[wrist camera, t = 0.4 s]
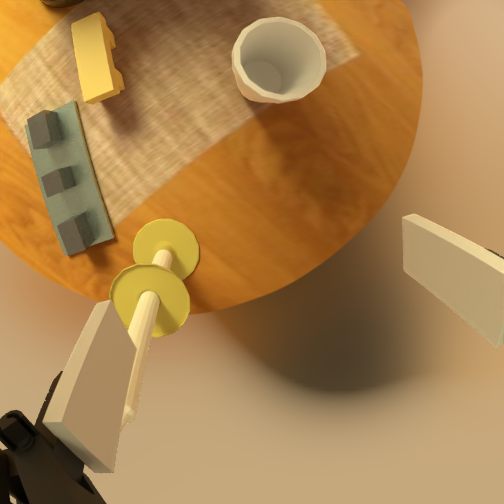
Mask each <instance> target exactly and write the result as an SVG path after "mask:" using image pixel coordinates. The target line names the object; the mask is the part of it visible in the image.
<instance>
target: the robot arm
mask: <svg viewBox="0 0 504 504" xmlns="http://www.w3.org/2000/svg"><path fill="white" fill-rule="evenodd" d="M41 1H42V2H43V3H44V4H46V5H48V6H51V7H66V6H70V5H74V4H77V3H79V2H81V1H83V0H41ZM402 231H403V271H405V272H406V273H407V274H408V275H410V276H411V277H412V278H414V279H415V280H416V281H417V282H419V283H420V284H421V285H423V286H424V287H425V288H426V289H427V290H429V291H430V292H431V293H432V294H434V295H435V296H436V297H438V298H439V299H440V300H441V301H442V302H443V303H444V304H446V305H447V306H448V307H449V308H450V309H452V310H453V311H454V312H455V313H456V314H458V315H459V316H460V317H461V318H462V319H463V320H465V321H466V322H467V323H468V324H469V325H470V326H471V327H473V328H474V329H475V330H476V331H477V332H478V333H479V334H480V335H482V336H483V337H484V338H485V339H486V340H487V341H488V342H489V343H491V344H492V345H493V346H494V347H495V348H497V347H498V346H500V345H501V344H502V343H504V257H502V256H499V254H497V253H495V252H493V251H491V250H489V249H486V248H483V247H481V246H479V245H477V244H475V243H473V242H471V241H470V240H468V239H466V238H464V237H462V236H460V235H458V234H456V233H454V232H452V231H450V230H448V229H446V228H444V227H442V226H440V225H438V224H436V223H434V222H432V221H429V220H428V219H425V218H423V217H421V216H419V215H417V214H411V215H407V216H404V217H402ZM136 351H137V348H136V347H135V345H134V343H133V341H132V339H131V337H130V336H129V334H128V332H127V330H126V328H125V326H124V324H123V322H122V320H121V318H120V316H119V314H118V312H117V310H116V308H115V306H114V304H113V302H112V300H108V301H104V302H100V303H97V304H96V306H95V307H94V309H93V311H92V313H91V315H90V317H89V319H88V321H87V323H86V325H85V327H84V329H83V331H82V333H81V335H80V337H79V339H78V341H77V343H76V345H75V347H74V349H73V351H72V353H71V355H70V357H69V360H68V362H67V364H66V366H65V368H64V371H61V372H60V373H59V374H58V376H57V377H56V378H55V379H54V380H53V382H52V385H51V387H50V389H49V393H48V394H47V396H46V398H45V400H46V401H44V403H43V406H42V408H41V410H40V413H39V415H38V418H37V420H36V423H35V425H33V424H32V423H31V422H30V421H29V420H28V419H27V418H26V417H25V416H24V414H23V413H22V412H21V411H18V410H13V411H10V412H8V413H6V414H5V415H4V416H3V417H2V418H1V419H0V441H1V442H2V443H3V444H4V445H5V446H6V447H7V448H8V449H5V450H1V449H0V504H13V503H11V502H10V496H9V495H11V496H12V497H14V498H15V499H16V502H17V504H106V502H105V501H104V500H103V498H102V497H101V495H100V494H99V492H98V491H97V489H96V488H95V486H94V485H93V484H92V482H91V480H90V479H89V477H88V476H87V475H86V474H84V473H83V469H84V464H85V465H86V466H88V467H89V468H90V469H91V470H92V471H93V472H95V473H114V467H115V460H116V453H117V447H118V441H119V435H120V429H121V423H122V418H123V412H124V407H125V402H126V397H127V392H128V387H129V382H130V377H131V373H132V368H133V364H134V359H135V355H136Z"/></svg>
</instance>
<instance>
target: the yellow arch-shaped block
mask: <svg viewBox="0 0 504 504" xmlns="http://www.w3.org/2000/svg"><path fill="white" fill-rule="evenodd" d="M71 30H72V37H73V44H74V51H75V57H76V63H77V69H78V74H79V79H80V85H81V89H82V94H83V99H84V102H86V103H89V104H95V103H97V102H99V101H102V100H104V99H107V98H109V97H112V96H114V95H117V94H119V93H120V91H121V90H124V89H125V87H124V83H123V78H122V74H121V73H120V72H119V71H118V70H116V69H115V67H114V63H113V58H112V53H111V49H113V48H116V45H115V40H114V35H113V33H112V32H111V31H110V29H109V28H108V27H107V26H106V20H105V18H104V17H103V16H102V15H101V13H100V12H99V11H98V12H96V13H94V14H91V15H89V16H87V17H85V18H83V19H80V20H78V21H76V22H74V23H72V24H71Z"/></svg>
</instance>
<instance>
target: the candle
mask: <svg viewBox="0 0 504 504" xmlns="http://www.w3.org/2000/svg"><path fill="white" fill-rule="evenodd" d="M133 258H134V260H135V262H136V264H135V265H133V266H130V267H128V268H125V269H123V270H122V271H121V272H120V274H119V275H118V276H117V277H116V278H115V279H114V280H113V283H112V286H111V290H110V293H109V297H110V300H112V302H113V304H114V306H115V308H116V310H117V312H118V314H119V316H120V318H121V320H122V322H123V324H124V326H125V327H126V328H127V329H128V334H129V336H130V337H131V339H132V341H133V343H134V345H135V347H136V348H137V351H136V355H135V359H134V364H133V368H132V373H131V377H130V382H129V387H128V392H127V397H126V402H125V407H124V412H123V418H122V423H121V429H120V432H121V430H122V429H123V427H124V426H125V425H126V424H127V423H130V422H132V421H133V420H134V419H135V417H136V413H137V407H138V402H139V396H140V391H141V385H142V380H143V375H144V370H145V365H146V361H147V356H148V351H149V346H150V342H151V337H162V336H166V335H169V334H172V333H174V332H175V331H177V330H178V329H179V328H180V327H181V326H182V325H184V323H185V321H186V319H187V317H188V315H189V312H190V295H189V293H188V291H187V289H186V287H185V285H184V282H183V281H182V280H183V279H185V278H186V277H187V276H189V275H190V274H191V273H192V272H193V271H194V269H195V267H196V265H197V263H198V260H199V244H198V242H197V239H196V237H195V235H194V233H193V232H192V231H191V230H190V229H189V228H188V227H187V226H186V225H185V224H183V223H181V222H178V221H176V220H174V219H156V220H154V221H152V222H149V223H147V224H145V226H144V227H143V228H142V229H141V230H140V231H139V232H138V233H137V235H136V238H135V240H134V243H133Z"/></svg>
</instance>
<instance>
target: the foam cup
mask: <svg viewBox="0 0 504 504" xmlns="http://www.w3.org/2000/svg"><path fill="white" fill-rule="evenodd" d="M326 70H327V68H326V51H325V50H324V48H323V46H322V44H321V42H320V41H319V39H318V37H317V35H316V34H315V33H313V32H312V31H311V30H310V29H308V28H307V27H306V26H304V25H303V24H302V23H300V22H298V21H294V20H291V19H287V18H284V17H271V18H263V19H259V20H257V21H255V22H254V23H252V24H251V25H249V26H247V27H246V28H244V29H243V30H242V32H241V34H240V35H239V37H238V39H237V41H236V43H235V44H234V47H233V50H232V71H233V73H234V75H235V79H236V84H237V87H238V89H239V91H240V92H241V94H242V95H243V96H244V97H246V98H247V99H249V100H250V101H255V102H259V103H265V102H272V103H276V104H279V103H285V102H290V101H295V100H298V99H301V98H303V97H305V96H306V95H307V94H309V93H310V92H311V91H313V90H314V89H315V88H317V87H318V86H319V85H320V83H321V80H322V78H323V76H324V74H325V72H326Z"/></svg>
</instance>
